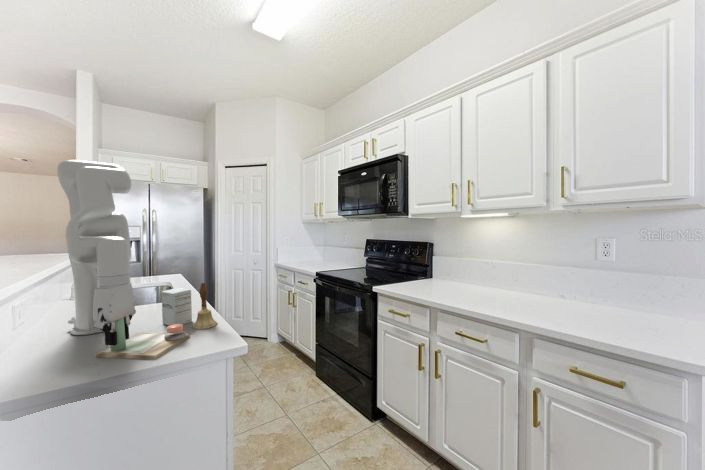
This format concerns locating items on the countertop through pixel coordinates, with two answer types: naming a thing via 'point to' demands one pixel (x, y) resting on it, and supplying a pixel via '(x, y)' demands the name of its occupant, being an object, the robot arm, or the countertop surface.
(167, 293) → the supplement box
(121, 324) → the green cylinder
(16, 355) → the countertop surface
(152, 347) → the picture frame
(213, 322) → the hand bell
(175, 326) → the button
